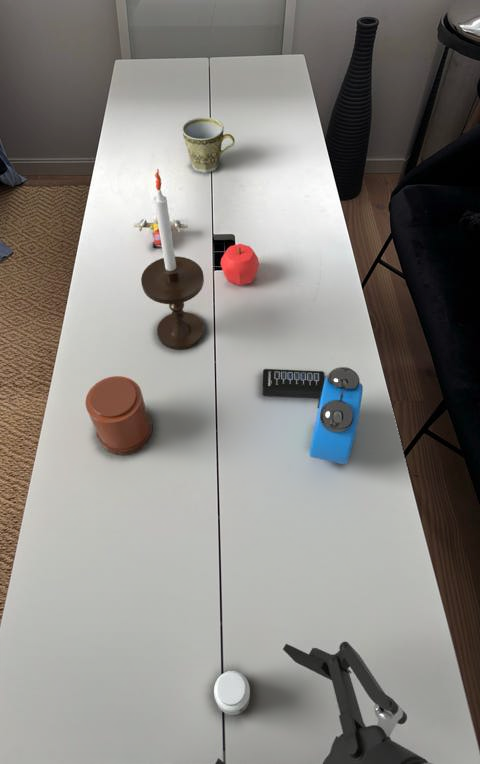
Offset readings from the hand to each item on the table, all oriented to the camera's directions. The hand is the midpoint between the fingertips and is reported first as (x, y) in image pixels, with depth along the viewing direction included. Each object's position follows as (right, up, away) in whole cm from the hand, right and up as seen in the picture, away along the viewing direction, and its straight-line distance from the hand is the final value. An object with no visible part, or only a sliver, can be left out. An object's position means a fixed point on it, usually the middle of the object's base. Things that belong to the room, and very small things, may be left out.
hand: (258, 707), depth 62 cm
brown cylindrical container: (-22, +28, +32) cm, 48 cm away
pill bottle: (-3, -4, +9) cm, 10 cm away
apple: (-2, +59, +54) cm, 80 cm away
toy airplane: (-20, +69, +62) cm, 95 cm away
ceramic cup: (-10, +92, +78) cm, 120 cm away
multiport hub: (+7, +36, +37) cm, 52 cm away
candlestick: (-14, +46, +45) cm, 66 cm away
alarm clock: (+13, +27, +31) cm, 43 cm away
